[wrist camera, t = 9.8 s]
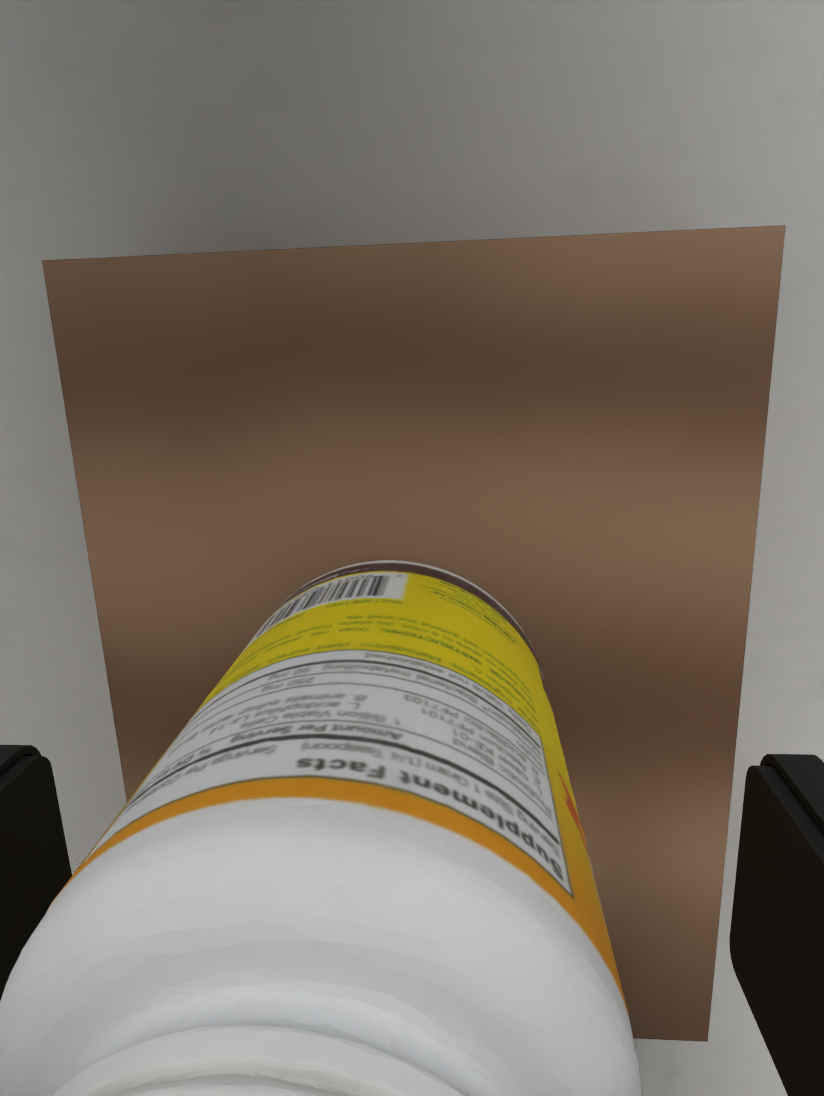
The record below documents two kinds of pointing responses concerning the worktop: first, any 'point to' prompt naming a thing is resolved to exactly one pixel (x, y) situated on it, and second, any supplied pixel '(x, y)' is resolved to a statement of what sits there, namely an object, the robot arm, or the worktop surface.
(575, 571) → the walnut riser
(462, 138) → the worktop surface
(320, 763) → the supplement bottle
